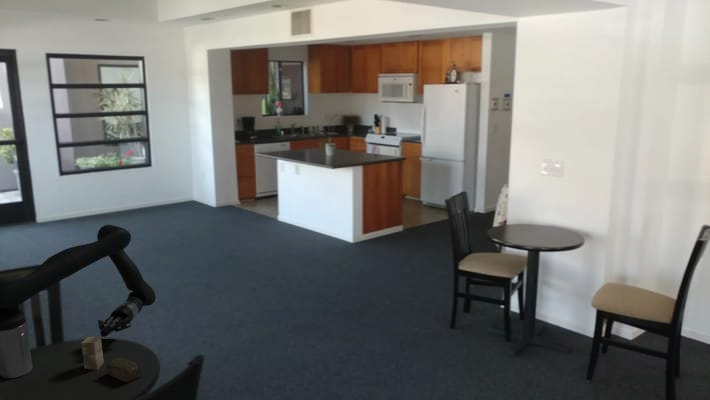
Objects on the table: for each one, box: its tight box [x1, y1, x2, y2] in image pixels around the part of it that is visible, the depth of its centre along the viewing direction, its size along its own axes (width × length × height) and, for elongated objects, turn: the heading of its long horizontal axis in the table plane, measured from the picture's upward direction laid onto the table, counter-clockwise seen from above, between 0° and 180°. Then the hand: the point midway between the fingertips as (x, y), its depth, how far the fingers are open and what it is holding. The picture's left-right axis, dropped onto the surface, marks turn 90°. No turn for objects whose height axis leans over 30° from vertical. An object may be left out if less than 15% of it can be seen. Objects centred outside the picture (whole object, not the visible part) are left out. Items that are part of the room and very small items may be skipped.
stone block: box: [106, 356, 142, 383], centre depth 186 cm, size 6×12×5 cm, turn 59°
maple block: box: [80, 336, 105, 371], centre depth 192 cm, size 4×4×10 cm
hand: (103, 334), depth 199 cm, fingers closed
